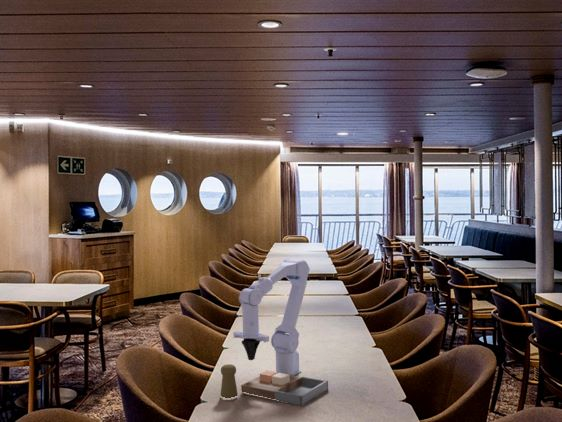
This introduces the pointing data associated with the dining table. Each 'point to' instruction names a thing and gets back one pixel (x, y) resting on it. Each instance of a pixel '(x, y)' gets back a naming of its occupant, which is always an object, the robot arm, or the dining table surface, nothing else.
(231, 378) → the cork
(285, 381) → the cream tile
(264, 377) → the terracotta tile
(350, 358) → the dining table surface
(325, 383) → the box
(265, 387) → the tan slab
